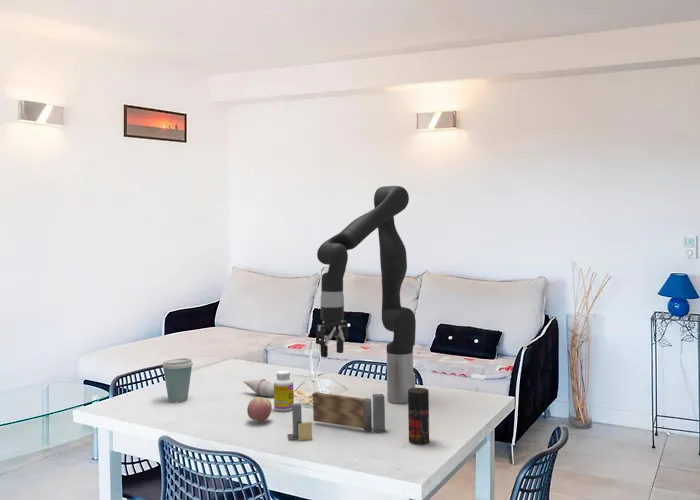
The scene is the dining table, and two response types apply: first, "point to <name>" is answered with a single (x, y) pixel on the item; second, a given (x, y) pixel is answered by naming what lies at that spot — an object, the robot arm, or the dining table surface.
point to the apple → (259, 409)
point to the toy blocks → (299, 425)
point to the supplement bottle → (283, 392)
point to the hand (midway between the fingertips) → (332, 354)
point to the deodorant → (418, 416)
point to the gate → (342, 410)
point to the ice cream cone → (261, 387)
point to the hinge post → (378, 413)
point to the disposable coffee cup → (177, 378)
